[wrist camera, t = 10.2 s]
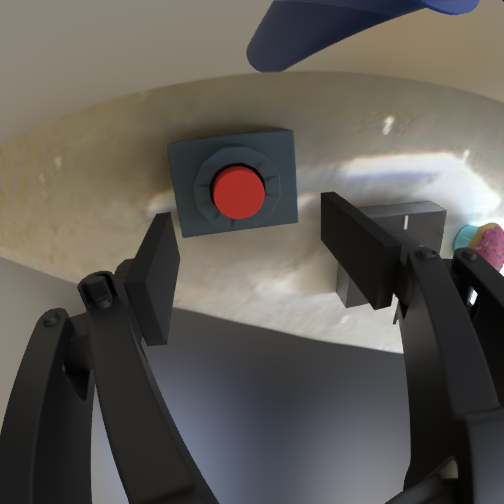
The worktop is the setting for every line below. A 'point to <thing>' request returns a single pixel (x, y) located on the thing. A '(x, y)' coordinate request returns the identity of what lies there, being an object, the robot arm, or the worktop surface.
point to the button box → (228, 155)
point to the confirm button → (238, 192)
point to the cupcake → (484, 242)
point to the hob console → (407, 227)
